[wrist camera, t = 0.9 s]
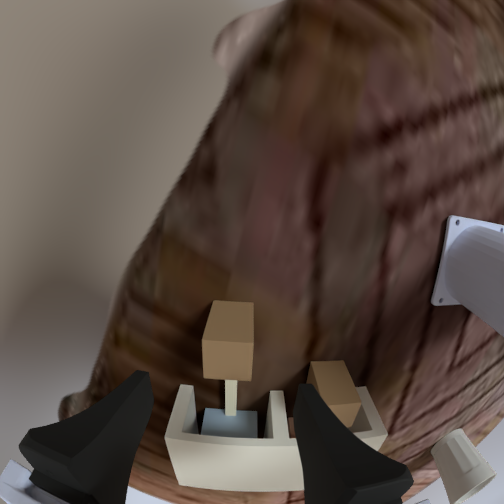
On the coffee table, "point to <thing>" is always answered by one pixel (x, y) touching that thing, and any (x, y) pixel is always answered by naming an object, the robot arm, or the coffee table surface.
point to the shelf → (250, 448)
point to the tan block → (333, 391)
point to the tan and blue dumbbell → (229, 366)
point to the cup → (461, 466)
